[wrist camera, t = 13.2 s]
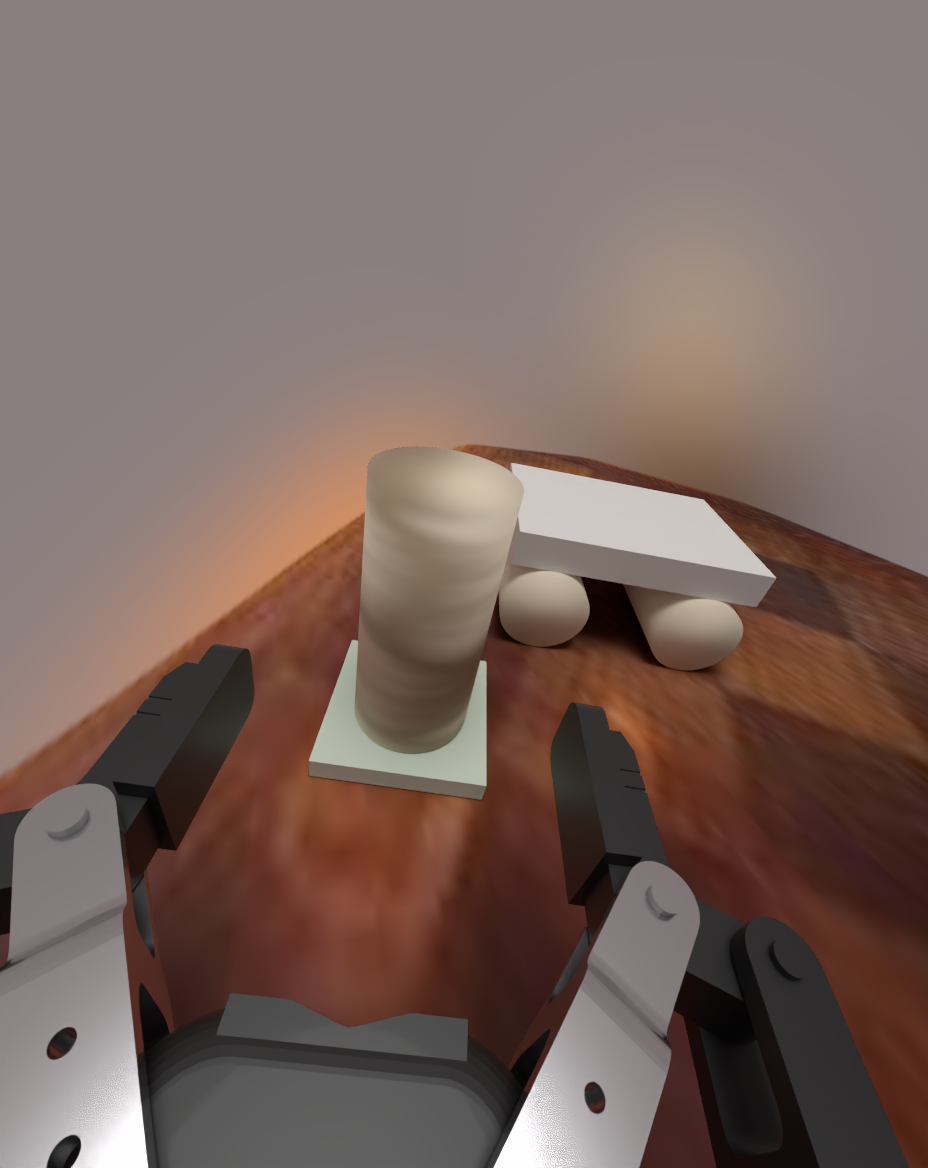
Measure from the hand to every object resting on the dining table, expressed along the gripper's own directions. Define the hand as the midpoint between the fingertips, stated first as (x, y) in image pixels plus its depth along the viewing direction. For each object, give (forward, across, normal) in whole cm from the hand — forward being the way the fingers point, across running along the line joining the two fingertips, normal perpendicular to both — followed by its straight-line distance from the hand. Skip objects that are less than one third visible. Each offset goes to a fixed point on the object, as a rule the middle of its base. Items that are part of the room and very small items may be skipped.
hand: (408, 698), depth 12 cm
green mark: (+6, 0, +8) cm, 11 cm away
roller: (+6, 0, +8) cm, 10 cm away
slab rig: (+18, -11, +8) cm, 23 cm away
